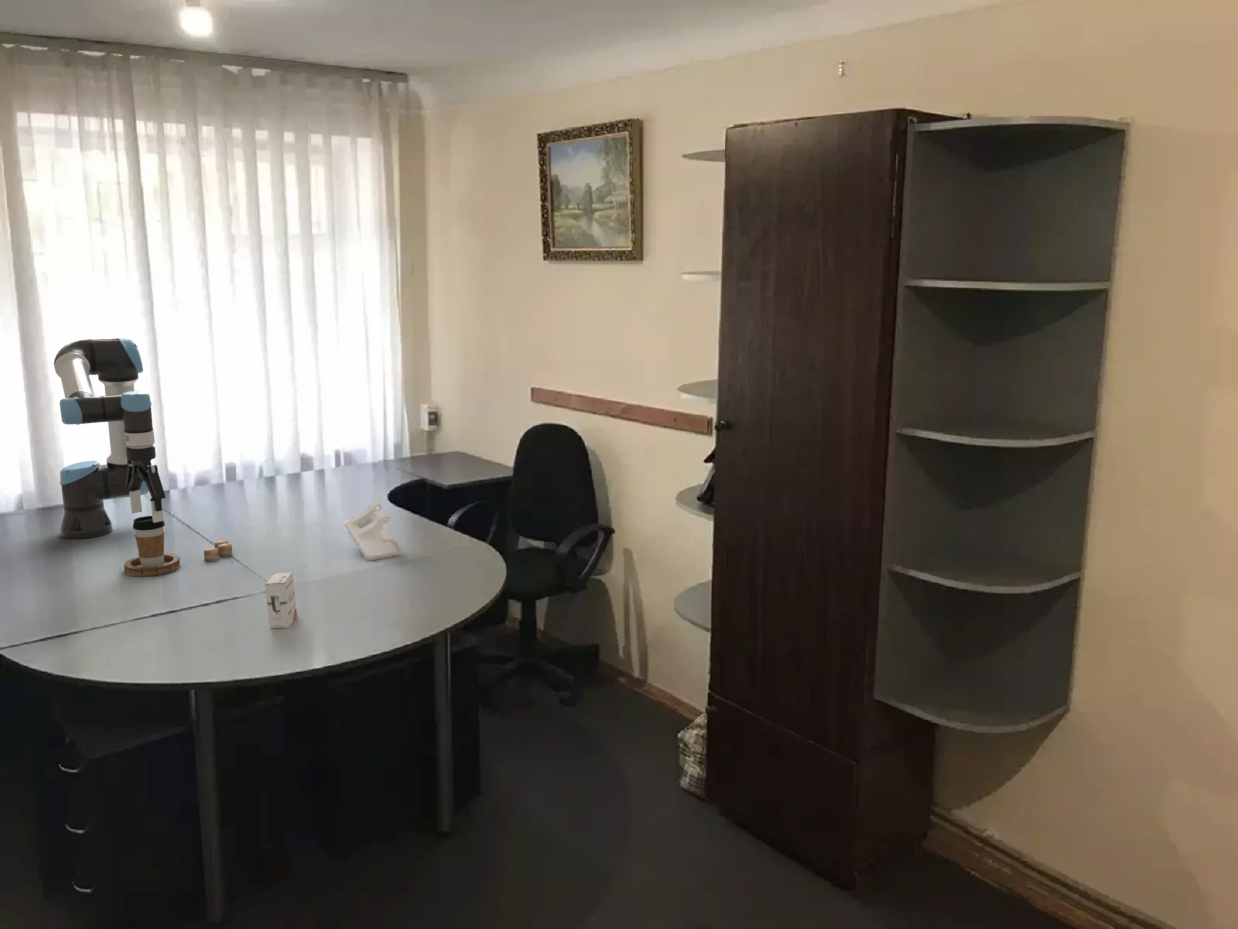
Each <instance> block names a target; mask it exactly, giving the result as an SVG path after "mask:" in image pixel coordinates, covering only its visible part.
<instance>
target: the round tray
mask: <svg viewBox="0 0 1238 929" xmlns="http://www.w3.org/2000/svg"><path fill="white" fill-rule="evenodd" d="M180 558H181V557H180V556H179V555H177V554H174V553H165V552H164V564H163V565H159V566H152V567H141V561H140V557H139V555H138V556H135V557H132V558H130V559H127V560H125V562H124V564H123V571H124V574H125V575H126V576H128V577H134V578H148V577H156V576H162V575H166V574H171V573H173V572H175V571H177V570H179V569H180V568H181V565H182V564H181V561H180V560H181V559H180Z"/></svg>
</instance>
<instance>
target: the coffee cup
mask: <svg viewBox="0 0 1238 929" xmlns="http://www.w3.org/2000/svg"><path fill="white" fill-rule="evenodd" d="M165 525H166V524H165V521H160V522H155V523H154V522H153V518H152V515H146V516H139V517H137V518H135V519H133V525H132V529H133V530H134V532H135V534H134V537H135V542H136V547H137V551H138V556H139V557H140V561H141V567H152V566H159V565H163V564H164V553H165V530H164V527H165Z"/></svg>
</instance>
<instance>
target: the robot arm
mask: <svg viewBox="0 0 1238 929" xmlns="http://www.w3.org/2000/svg"><path fill="white" fill-rule="evenodd" d="M53 365H54V366H53V367H54V370H55V371H54V372H55V374H57V376H58V377H59V378H60V381H61V386H62V389H63V394H64V397H65V398H62V399H60V400H59V410H60V417H61V422H62V423H63V424H64V425H84V424H85V425H86V424H96V423H97V424H98V423H106V422H107V424H108V435H109V445H110V446H109V447H110V455H109V456H108V457H107V458H106V464H100V462H99V461H97V460H86V461H80V462H76V463H72V464H70V465H67V466H65V467H63V468H62V469H61V470H60V472H59V476H60V477H59V478H60V481H59V485H61V487H60V488H61V494H62V503H63V515H62V516H63V517H62V519H61V523H60V530H59V531H60V537H61V538H66V539H73V540H74V539H88V538H94V537H98V536H104V535H106V534H109V533H111V532H112V531H113V522H112V521H111V518H110V517H109V515H108V513H107V510H106V509H105V506H104V505H105V502H104V500H114V499H122V498H123V499H124V498H129V500H130V510H131V512H130V513H131V514H136V513H141V512H143V510H142V500H141V496H145V495H147V494H148V493H149V495H150V497H151V498H150V500H149V501H150V505H151V514H152V515H151V516H152V518H153V522H154V523H155V522H160V521H164V511H163V501H162V500H164V499H165V498H166V494H165V490H164V487H163V484H162V480H161V477H160V474H159V470H158V469H159V468H158V465H157V464H153V465H152V462H151V461H152V460H154V459H155V458H156V457H157V454H156V446H155V443H156V441H155V432H154V427H153V414H152V402H151V395H150V393H149V392H147V391H142V390H136V391H135V383H136V382H137V381H138V380H139V374H141V373H143V371H144V369H143V360H142V358H141V353H140V350H139V346H138V344H137V341H136V340H135V339H134V338H132V337H127V336H126V337H125V336H114V337H112V336H111V337H110V336H109V337H91V338H87V337H86V338H79V339H75V340H72V341H70V342H68V343H67V344H65V345H64V346H63V347H61V348H60V349H59V351H58V352H57V354H56V355H55V357H54V360H53ZM96 375H97V378H98V381H99V382H100V383H102V384H103V386H104V394H105V395H98V396H96V395H95V392H94V388H93V384H92V383H91V379H90V378H91V377H90V376H96ZM164 522H165V521H164Z"/></svg>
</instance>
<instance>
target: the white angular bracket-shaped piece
mask: <svg viewBox="0 0 1238 929" xmlns="http://www.w3.org/2000/svg"><path fill="white" fill-rule="evenodd" d="M382 509H383V504H382V503H381V502H380V501H378V500H377V501H373V502H371V503H369V504H368V506H367V508H366V509H365V510H363V511H361V512H359V513H358V514H356V515H354V516H353V517H351V518H350V519H347V520H345V521H344V527H345V528H346V529H347V530H346V531H347V534H348V535H349V537H350V538H351V540H352V542H353V543H354V544H355V546H357V547H358V549H359V550H360V552H361V553H362V555H363V556H364V558H365V559H366V560H367V561H375V560H380V558H381V559H384V558H385V559H386V558H390V557H395V556H398V555H399V554H400V550H401V546H400V543H399V541H398V539H397V537H395V536H394V534H393V533H392V532H389V531H386V530H385V529H384V527H383V526H384V525H386V524H388V523H389V522H390V521H391V519H392V518H391V517H390V515H389V514H388V513H380V514H378V515H376V512H380V511H381V510H382Z"/></svg>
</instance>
